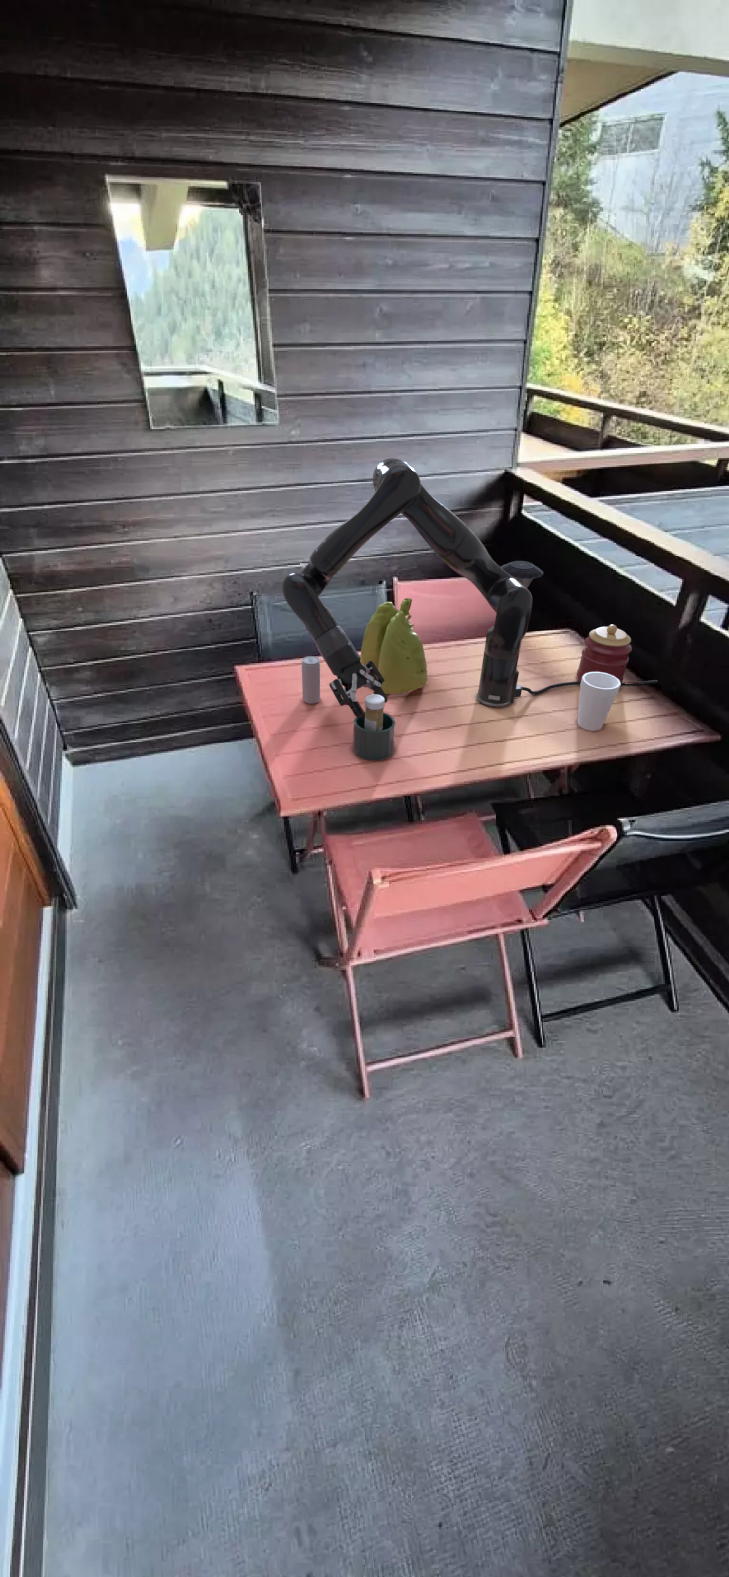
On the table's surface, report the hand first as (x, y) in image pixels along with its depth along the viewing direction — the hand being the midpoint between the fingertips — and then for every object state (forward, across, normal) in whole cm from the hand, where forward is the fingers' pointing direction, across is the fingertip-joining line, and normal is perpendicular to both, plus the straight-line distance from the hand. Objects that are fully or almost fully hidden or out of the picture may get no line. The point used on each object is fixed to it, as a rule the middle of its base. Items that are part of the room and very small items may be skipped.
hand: (373, 709), depth 165 cm
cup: (+8, 0, +8) cm, 11 cm away
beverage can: (-11, +8, +27) cm, 30 cm away
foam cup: (+33, +48, -17) cm, 61 cm away
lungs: (-5, +33, +21) cm, 40 cm away
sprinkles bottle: (+8, 0, +7) cm, 10 cm away
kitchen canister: (+27, +72, -11) cm, 78 cm away
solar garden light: (+8, +64, +8) cm, 65 cm away
